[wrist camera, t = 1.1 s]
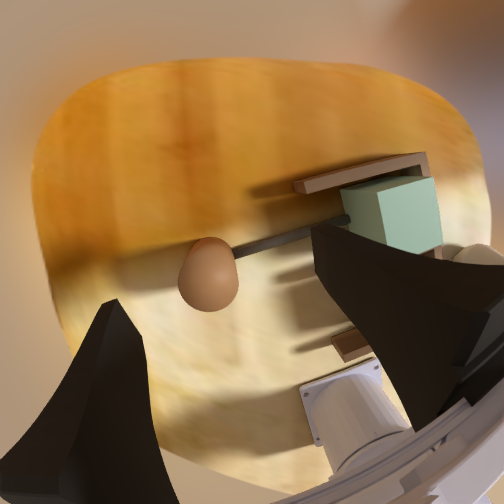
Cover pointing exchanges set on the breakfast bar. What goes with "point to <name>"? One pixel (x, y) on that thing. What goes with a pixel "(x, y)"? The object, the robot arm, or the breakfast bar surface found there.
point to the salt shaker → (479, 255)
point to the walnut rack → (410, 165)
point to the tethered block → (357, 217)
